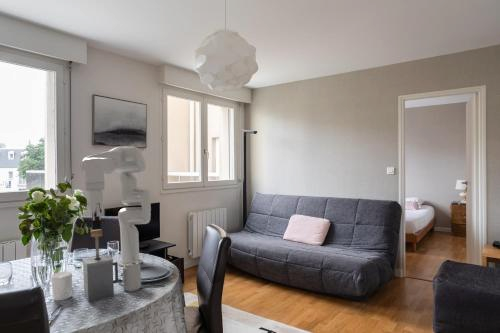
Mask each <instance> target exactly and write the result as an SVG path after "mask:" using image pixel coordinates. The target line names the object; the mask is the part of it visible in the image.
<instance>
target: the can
mask: <svg viewBox="0 0 500 333" xmlns="http://www.w3.org/2000/svg"><path fill="white" fill-rule="evenodd" d="M124 265H125V266H122V278H123V290H125V292H136V291H138V290H140V289H141V287H142V273H141V272H142V271H141V263H140V264H139V262H137V261H131V262H127V263H125V264H124Z"/></svg>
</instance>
